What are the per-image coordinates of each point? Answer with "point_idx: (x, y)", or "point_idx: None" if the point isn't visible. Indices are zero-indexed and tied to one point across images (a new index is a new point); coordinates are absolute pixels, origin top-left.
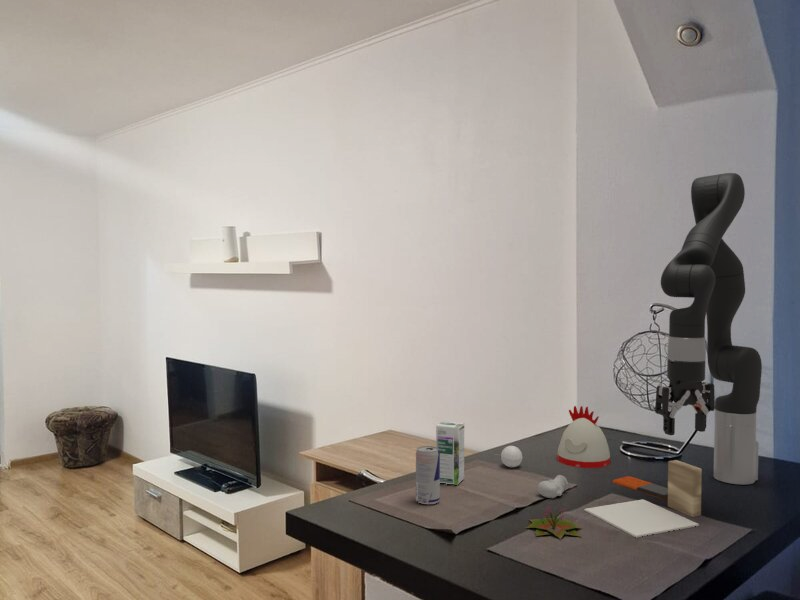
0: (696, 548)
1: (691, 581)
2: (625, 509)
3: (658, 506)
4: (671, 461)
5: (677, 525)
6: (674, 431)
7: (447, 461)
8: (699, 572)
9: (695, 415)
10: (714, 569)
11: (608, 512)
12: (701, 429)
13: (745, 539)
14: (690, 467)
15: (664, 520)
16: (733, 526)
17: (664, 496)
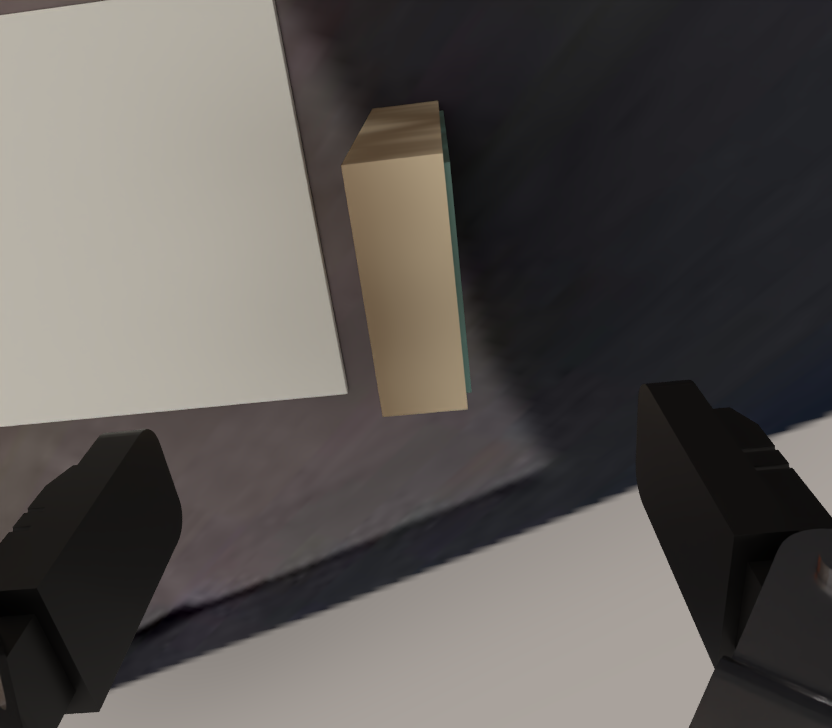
0: (200, 544)
1: None
2: (73, 122)
3: (293, 131)
4: (366, 179)
5: (239, 383)
6: (169, 557)
7: None
8: None
9: (718, 511)
10: (168, 656)
11: None
12: (645, 485)
13: (436, 530)
14: (408, 363)
15: (212, 317)
16: (496, 427)
17: None
